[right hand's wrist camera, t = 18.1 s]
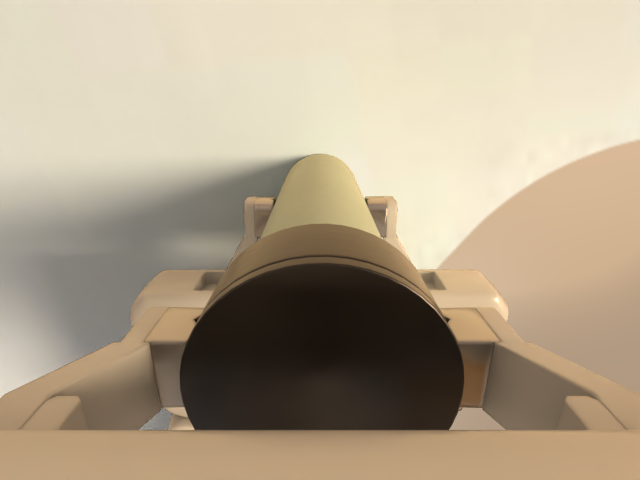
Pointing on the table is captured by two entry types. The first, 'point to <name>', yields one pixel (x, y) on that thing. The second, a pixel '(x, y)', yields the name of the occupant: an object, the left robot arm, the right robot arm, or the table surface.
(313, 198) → the pale green tall cylinder
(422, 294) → the lid
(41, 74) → the table surface
